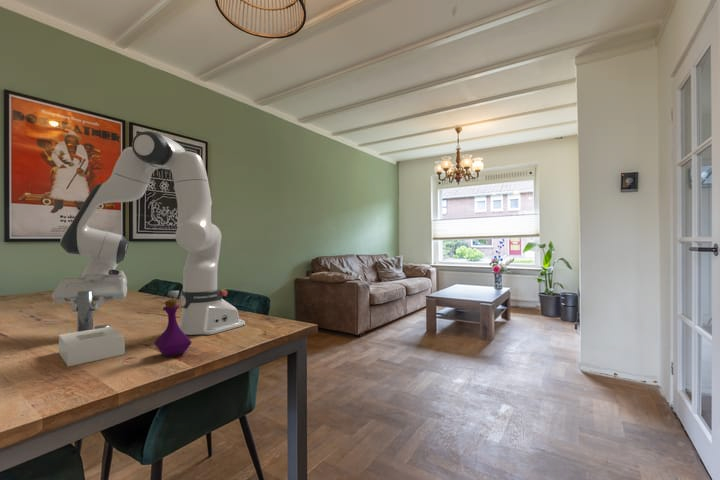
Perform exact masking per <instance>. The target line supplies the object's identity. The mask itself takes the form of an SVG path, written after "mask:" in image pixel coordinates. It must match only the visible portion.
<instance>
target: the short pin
mask: <svg viewBox="0 0 720 480" xmlns="http://www.w3.org/2000/svg"><path fill="white" fill-rule="evenodd" d="M105 327H112V326H111V324H102V325H101V324H100V325H97V326H95V327H94V329H99V328H105Z"/></svg>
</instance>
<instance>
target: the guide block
mask: <svg viewBox="0 0 720 480" xmlns="http://www.w3.org/2000/svg"><path fill="white" fill-rule="evenodd" d="M125 339H126V336H125V335H123V334H122V333H121V332H119V331H117V330H116V329H115V328H113V327H112V326H111V327H105V328H99V329H95V328H93V329H92V330H86V331H80V332H77V331H75V332H68V333H61V334H58V354H59V355H60V357H61V359H62V360H63V361H64V363H65V365H66V366H67V367H72V366H77V365H81V364H85V363H90V362H95V361H99V360H100V361H101V360H104V359H109V358H114V357H118V356H119V357H120V356H123V355H124V356H125V354H126V353H125V350H126V348H125V347H126V345H125V344H126V341H125Z"/></svg>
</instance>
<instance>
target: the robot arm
mask: <svg viewBox="0 0 720 480" xmlns="http://www.w3.org/2000/svg"><path fill="white" fill-rule="evenodd" d="M156 170H160V171H162V172H163V171H165V172H171V174H172V178H173V185H174V192H175V197H176V204H177V229H176V230H175V237H174V238H175V241H176V243H177V245H178V246H179V247H181V248H182V249H184V250H186V251H187V256H186V260H185V264H184V266H183V271H182V273H183V274H182V277H183V278H182V279H183V281H182V282H183V284H182V287H183V289H182V291H181V297H180V299H181V301H180V302H181V307H182V308H181V317H180V322H179V325H178V326H179V328H180V329H181V330H182V331H183V333H184V334H185V335H186V336H188V335H190V336H191V335H194V336H195V335H215V334H218V333H222V332H225V331H229V330H234V329H235V328H240V327H244V326H245V325H246V322H245V320H243V319H241V318H240V315H239V312H238V309H237V308H236V307H235V306H234V305H232V304H231V303H229V302H228V301H226V300H225V299H223V296H224V297H227V290H225V289H222V290H221V289H218V266H219V261H220V260H219V258H220V254H221V253H220V251H221V243H222V238H223V237H222V232H221V230H220V228H219V227H218V226H217V225H215V223H212V205H213V200H212V197H211V196H212V194H211V187H210V185H209V178H208V174H207V170H206V166H205V163H204V162H203V159H202V157H201V155H199V154H198V153H196V152H194V151H188V150H187V148H186V147H185V146H184V145H182V144H180V143H178V142H177V141H174V140H173V139H172V138H170V137H168V136H165V135H163V134H159V133H158V132H154V131H151V130H150V131H147V130H145V131H141V132H138V133H137V134H136V135H134V137H133V139H132V141H131V146H128V147H125V148H124V149H123V150H122V152H121V153H120V154H119V156H118V159H117V160H116V162H115V164H114V167H113V170H112V172H111V175H110V177H108V179H107V180H106V181H105V182H103V183H97V184H96V185H94V187H93V188H92V189H91V190H90V192H89V194H88V195H87V197H86V198H85V200H84V202H83V203H82V205H81V207H80V208H79V210H78V211H77V214H76V215H75V217H74V218H73V219H72V222H71V223H70V225H69V226H68V227H67V228H66V229H65V231H64V232H63V233H62V235H61V237H60V241H59V242H60V243H59V244H60V247H61V248H62V249H63V250H64V251H65V252H66V253H68V254H72V255H83V256H88V257H89V258H88V264H86V266H85V267H84V270H83V272H82V274H81V277H74V278H73V277H72V278H71V277H67V278H65V279H63V280H60V281H59V282H58V284H57V286H56V287H55V289H54V290H53V292H52V294H51V297H52V299H53V301H54V302H56V303H57V304H58V303H59V304H63V303H70V304H71V305H72V306H71V308H70V310H71V312H72V313H76V312H77V292H80V291H93V302H95V303H93V304H92V307H91V310H92V311H93V312H95V311H99V309H100V307H101V306H102V305H104V304H105V302H106V301H120V300H121V301H122V300H124V299H126V297H127V294H128V286H127V284H128V279H127V276H126V274H125V272H124V270H119V269H116V268H117V267H118V266H119V264H120V263H122V262H123V261H124V259H125V257H126V253H127V251H128V249H129V242H128V240H127V238H126V236H124V235H122V234H118V233H115V232H111V231H105V230H100V229H96V228H92V227H90V226H88V225H89V223H90V222H91V220H92V218H93V216H94V214H95V213H96V211H97V209H98V208H99V207H100V206H101V205H104V204H109V203H130V202H134V201H135V202H136V201H137V200H139V199H141V198H142V197H143V196H144V195H145V193H146V191H147V189H148V186H149V183H150V180H151V177H152V174H153V173H154V172H155V171H156ZM243 325H244V326H243Z"/></svg>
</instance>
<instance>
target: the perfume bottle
mask: <svg viewBox="0 0 720 480" xmlns="http://www.w3.org/2000/svg"><path fill="white" fill-rule="evenodd" d="M167 295H168V296H169V298H170V299H167V300H165V302H164V304H165V306H164V307H163V309H162V310H163V311H165V313H166V314H167V319H168V320H167V326H166V329H165V330H164V331H163V332H162V333H161V334H160V336H159V337H158V338H157V339H156V340H155V341H154V343H153V345H154V346H155V347H156V348H157V349H158V351H159V353H161V354H162V356H164V357H165V358H173V357H177V356H181V355H184V353H185V352H187V350H188V348H189V347H190V346H191V345H192V341H191V339H190V338H189V337H188V335H186V334H184V333H183V331H182V330H181V329H180V328H179V326H180V325H179V324H178V320H177V313H176V312H177V311H178V309H180V306H179V305H177V303H178V302H177V301H178V300H177V299H178V297H179V295H180V290H170V291H167ZM172 298H173V299H172Z"/></svg>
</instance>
